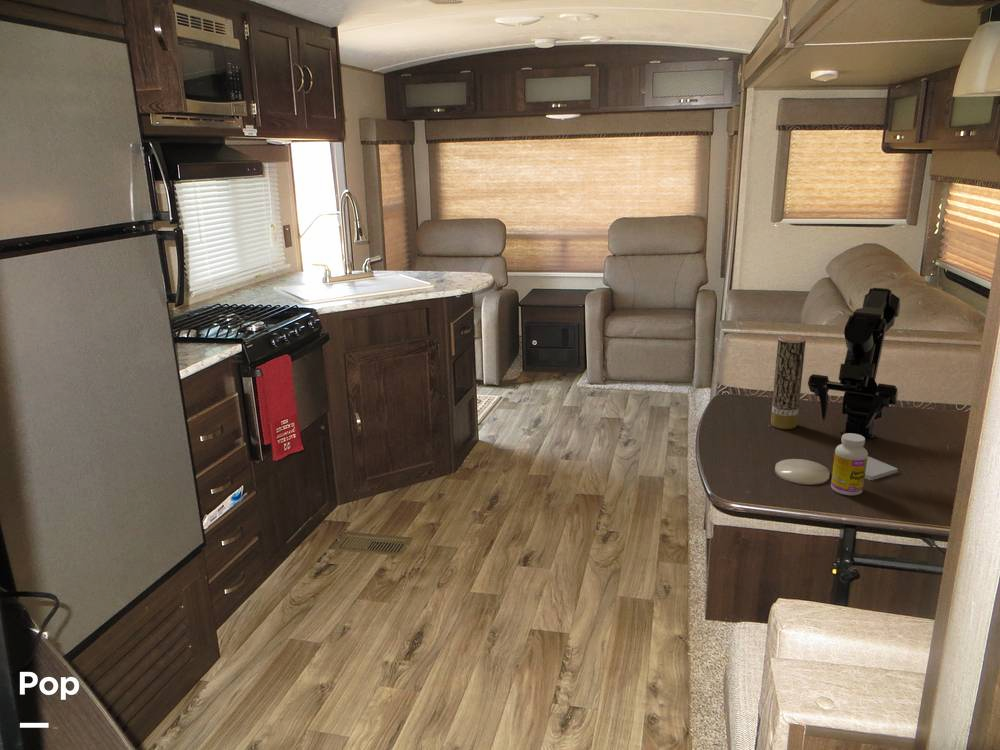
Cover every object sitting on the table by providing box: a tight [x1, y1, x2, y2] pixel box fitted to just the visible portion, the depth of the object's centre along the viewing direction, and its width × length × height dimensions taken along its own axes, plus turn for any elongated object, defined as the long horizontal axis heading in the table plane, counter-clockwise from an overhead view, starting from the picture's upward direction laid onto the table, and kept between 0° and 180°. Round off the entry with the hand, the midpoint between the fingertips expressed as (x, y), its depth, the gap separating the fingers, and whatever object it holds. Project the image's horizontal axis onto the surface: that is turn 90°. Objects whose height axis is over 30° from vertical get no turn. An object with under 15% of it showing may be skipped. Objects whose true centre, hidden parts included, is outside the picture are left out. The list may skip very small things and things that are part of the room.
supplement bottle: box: [830, 433, 869, 497], centre depth 168 cm, size 7×7×13 cm
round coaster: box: [774, 458, 831, 486], centre depth 179 cm, size 12×12×1 cm
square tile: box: [865, 455, 899, 481], centre depth 180 cm, size 9×9×1 cm
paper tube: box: [770, 333, 807, 430], centre depth 203 cm, size 7×7×25 cm
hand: (844, 423), depth 174 cm, fingers open, 9 cm apart
